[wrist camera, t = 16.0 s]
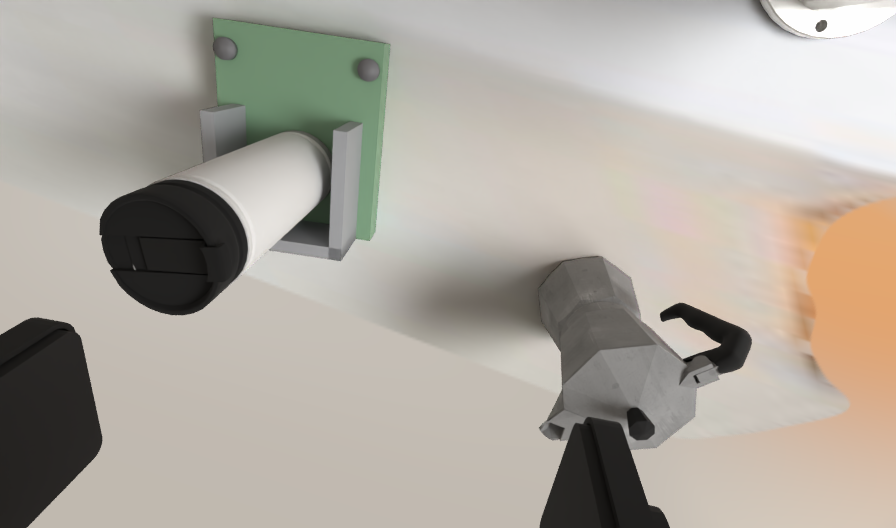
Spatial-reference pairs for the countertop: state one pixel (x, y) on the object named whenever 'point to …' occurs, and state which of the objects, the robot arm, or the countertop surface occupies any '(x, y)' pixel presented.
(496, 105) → the countertop surface
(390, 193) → the countertop surface
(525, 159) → the countertop surface
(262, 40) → the green backplate cradle
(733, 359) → the coffeepot
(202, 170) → the travel mug
